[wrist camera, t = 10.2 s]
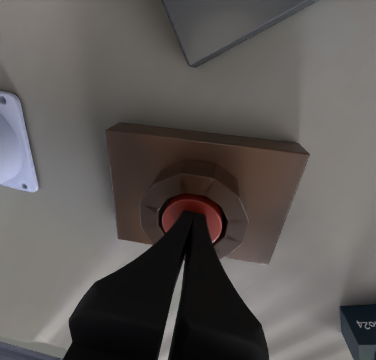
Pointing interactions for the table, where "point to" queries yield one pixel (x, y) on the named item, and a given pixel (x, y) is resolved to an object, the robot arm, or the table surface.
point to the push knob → (194, 205)
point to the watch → (359, 330)
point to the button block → (204, 184)
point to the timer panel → (223, 23)
